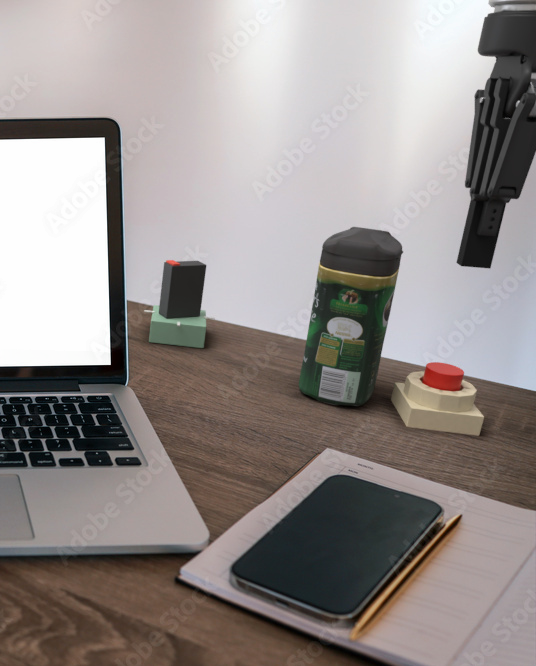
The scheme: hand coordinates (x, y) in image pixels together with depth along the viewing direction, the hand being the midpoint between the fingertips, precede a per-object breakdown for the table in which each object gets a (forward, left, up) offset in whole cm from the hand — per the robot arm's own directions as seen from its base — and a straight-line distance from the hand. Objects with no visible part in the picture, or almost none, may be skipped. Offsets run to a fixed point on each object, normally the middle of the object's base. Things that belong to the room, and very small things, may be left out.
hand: (473, 265), depth 78 cm
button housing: (0, 0, -17) cm, 17 cm away
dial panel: (+28, -17, -17) cm, 36 cm away
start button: (0, 0, -13) cm, 13 cm away
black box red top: (+28, -17, -14) cm, 35 cm away
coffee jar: (+10, -4, -17) cm, 20 cm away
